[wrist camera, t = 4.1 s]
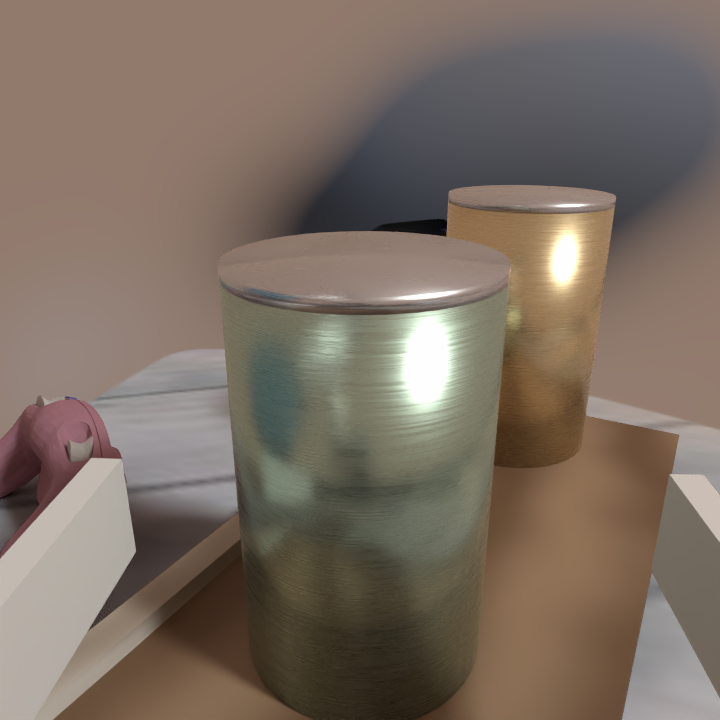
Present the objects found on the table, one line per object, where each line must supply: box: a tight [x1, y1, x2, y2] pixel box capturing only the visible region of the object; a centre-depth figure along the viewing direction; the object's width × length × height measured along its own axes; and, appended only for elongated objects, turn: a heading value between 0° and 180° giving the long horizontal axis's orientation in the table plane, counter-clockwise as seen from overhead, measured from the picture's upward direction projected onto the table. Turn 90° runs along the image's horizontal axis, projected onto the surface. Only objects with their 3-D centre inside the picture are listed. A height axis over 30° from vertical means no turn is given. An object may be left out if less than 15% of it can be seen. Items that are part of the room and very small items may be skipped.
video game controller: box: [0, 396, 127, 558], centre depth 31 cm, size 10×5×7 cm, turn 36°
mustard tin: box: [447, 185, 616, 468], centre depth 32 cm, size 8×8×12 cm
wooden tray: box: [34, 416, 679, 720], centre depth 25 cm, size 16×32×3 cm, turn 151°
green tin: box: [218, 231, 511, 720], centre depth 19 cm, size 8×8×12 cm
